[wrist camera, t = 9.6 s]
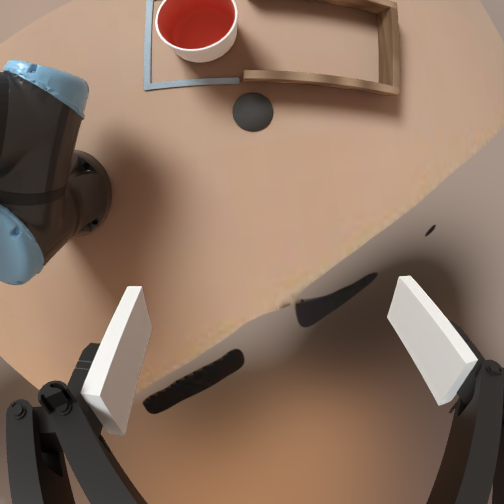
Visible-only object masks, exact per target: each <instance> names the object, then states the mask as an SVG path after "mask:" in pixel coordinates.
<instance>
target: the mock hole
mask: <svg viewBox="0 0 504 504" xmlns="http://www.w3.org/2000/svg"><path fill="white" fill-rule="evenodd" d="M272 115H273V109H272V105H271V103H270V102H269V100H268V99H267V98H266V97H264V96H263V95H261V94H257V93H248V94H245V95H243V96H241V97H240V98H239V99H238V100H237V101H236V102H235V104H234V107H233V117H234V120H235V122H236V123H237V124H238V125H239V126H240V127H241V128H243V129H245V130H248V131H257V130H261V129H263V128H264V127H266V126H267V125H268V124H269V122H270V121H271V119H272Z"/></svg>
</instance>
